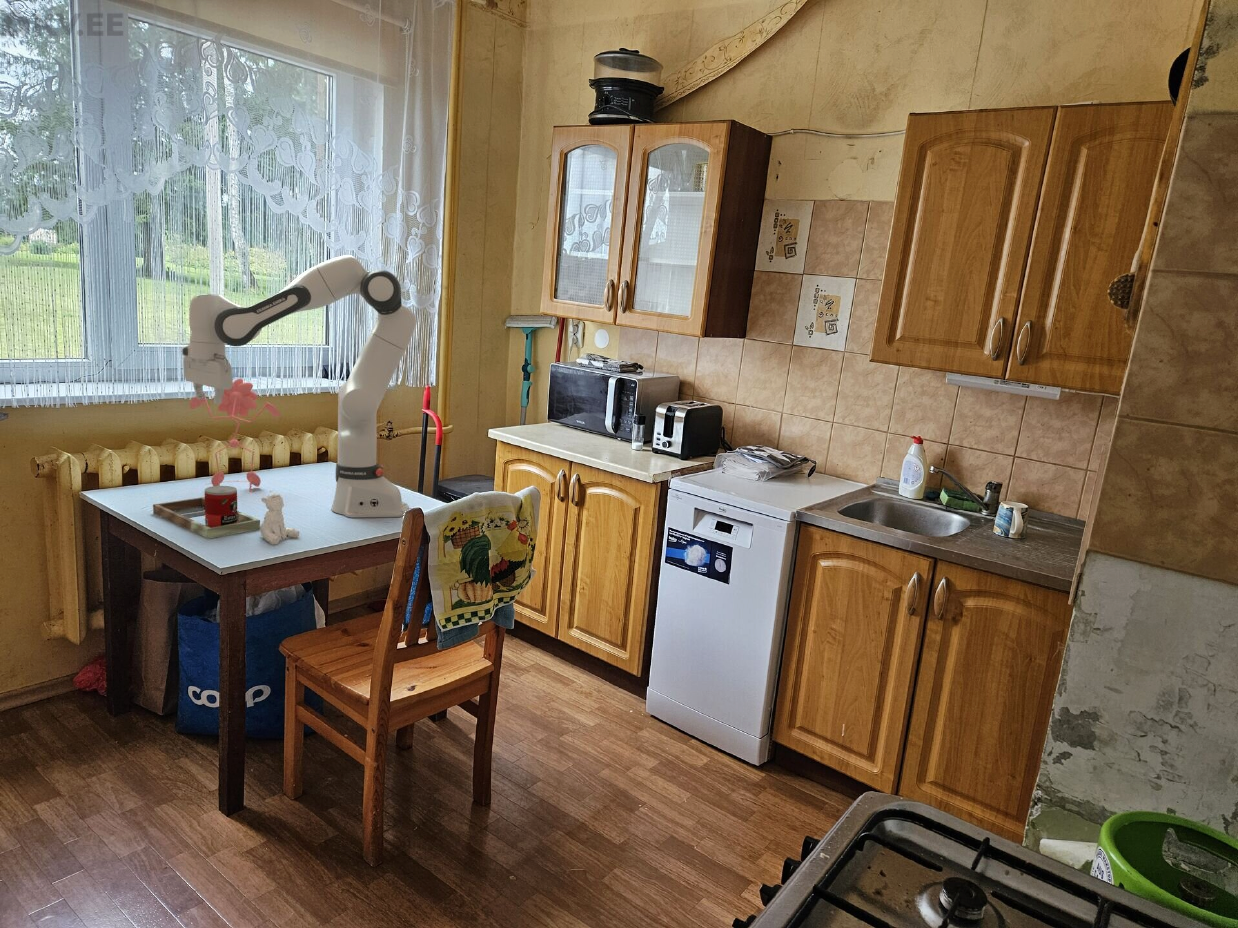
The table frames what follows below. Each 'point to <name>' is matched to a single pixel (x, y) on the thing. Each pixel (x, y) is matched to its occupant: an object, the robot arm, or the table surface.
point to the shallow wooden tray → (174, 516)
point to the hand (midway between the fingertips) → (208, 401)
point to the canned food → (220, 506)
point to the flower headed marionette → (234, 403)
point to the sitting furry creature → (275, 521)
